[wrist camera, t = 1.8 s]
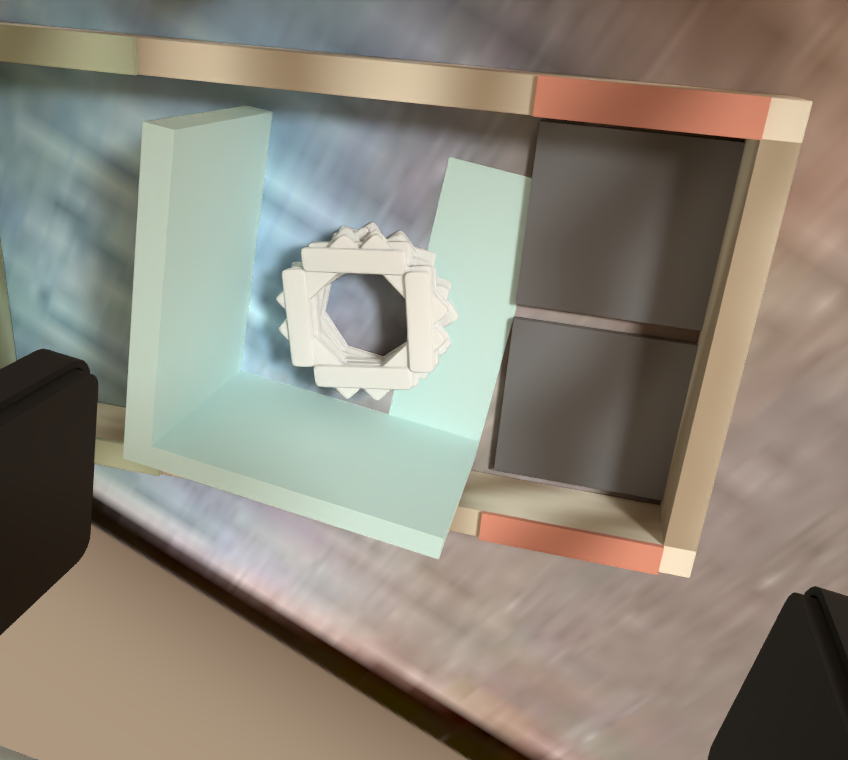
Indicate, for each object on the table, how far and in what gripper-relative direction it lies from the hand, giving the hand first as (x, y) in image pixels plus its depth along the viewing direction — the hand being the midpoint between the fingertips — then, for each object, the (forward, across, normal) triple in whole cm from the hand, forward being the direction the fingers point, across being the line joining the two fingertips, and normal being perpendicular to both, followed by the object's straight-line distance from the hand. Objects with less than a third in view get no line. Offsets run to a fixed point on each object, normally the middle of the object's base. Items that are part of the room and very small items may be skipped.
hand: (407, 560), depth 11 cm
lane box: (+22, +8, +4) cm, 24 cm away
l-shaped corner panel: (+22, +6, +4) cm, 23 cm away
